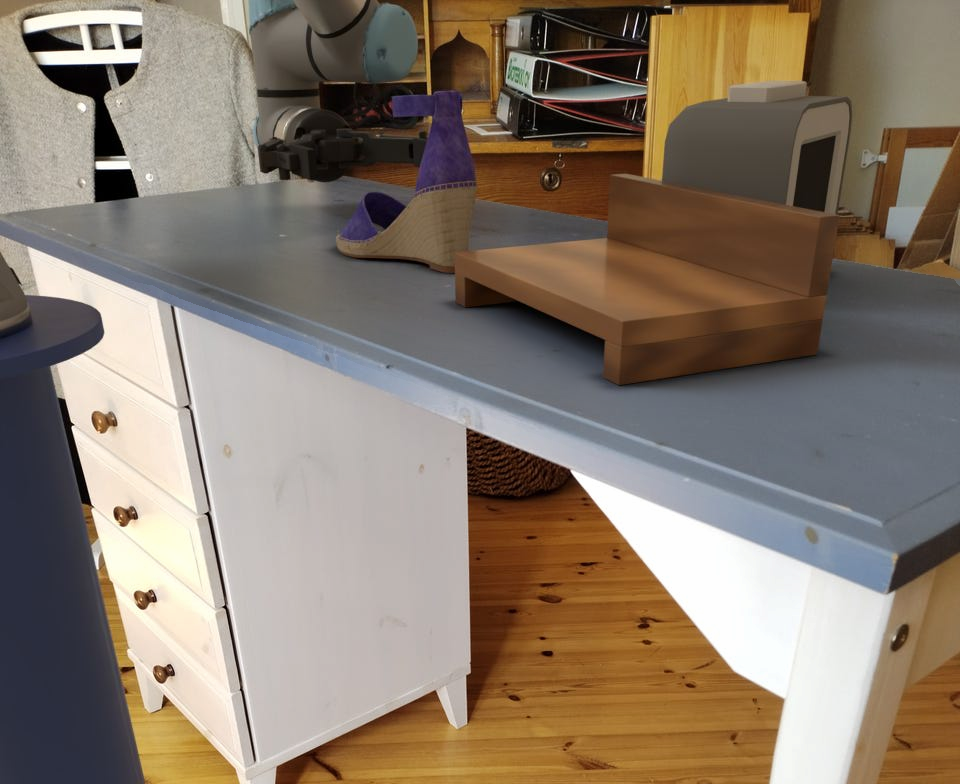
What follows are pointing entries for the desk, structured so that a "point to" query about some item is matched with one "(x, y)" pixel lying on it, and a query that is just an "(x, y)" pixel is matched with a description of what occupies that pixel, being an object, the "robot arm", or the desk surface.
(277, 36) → the robot arm
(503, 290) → the shoe rack
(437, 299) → the desk surface
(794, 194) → the alarm clock
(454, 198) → the sandal
